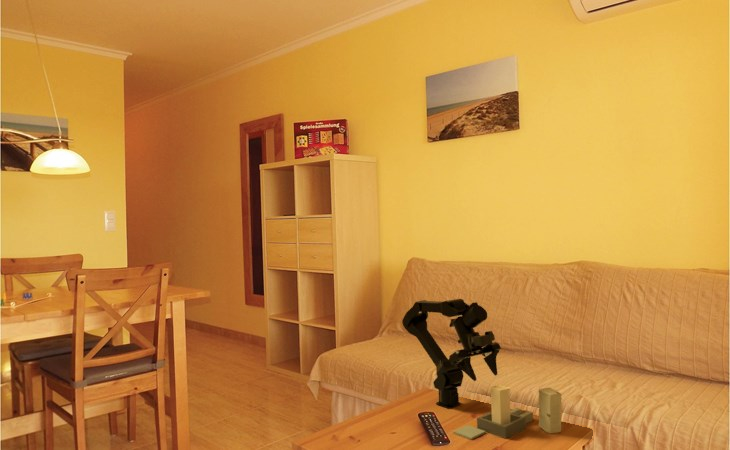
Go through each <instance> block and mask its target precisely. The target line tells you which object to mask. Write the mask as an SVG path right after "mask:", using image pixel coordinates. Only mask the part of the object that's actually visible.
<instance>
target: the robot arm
mask: <svg viewBox="0 0 730 450" xmlns="http://www.w3.org/2000/svg"><path fill="white" fill-rule="evenodd" d="M429 313H436V314H437V313H438V314H441V315H442V316H444V317H447V318H451V319H450V322H449V325H448V326H449V328H452V327H453V328H454V329H455V332H456V334H457V337H458V338H459V339H458V340H457V343H458V344H461V346H462V349H458V350H455V351H454V352H453V353H451V354H450V355H449V356H448V357H449V358H448V357H447V356H446V354H445V353H444V352H443V350H442V349H441V347H440V345H439V344H438V343H437V341H436V340H435V338H434V337H433V336H432V334H431V333H430V331H429V330H428V322H427V320H428V318H429ZM454 317H455V318H454ZM487 318H488V312H487V310H486V309H485V308H484V307H483V306H481V305H479V304H478V302H477V301H476V302H472V303H470V304H469V303H466V302H465V301H464V299H462V298H455V299H449V300H445V301H444V300H443V301H442V300H441V301H440V300H439V301H436V300H426V299H424V300H417V301H415V302H414V303H413V306H412V307H410V309H408V310H407V311H406V312H405V313H404V316H403V318H402V321H401V322H402V326H403V328H404V329H405V330H406V331H407V332H408V333H409V334H410V335H412V336H414V337H416V338H417V340H418V342H419V343H420V345H421V346H422V348H423V349H424V350H425V352H426V353H427V355H428V356H429V358H430V360H431V361H432V363H433V364H434V366H435V367H436V368H435V370H436V371H435V373H436V374H435V375H436V378H435V379H434V381H433V382H432V383H433V386H434V389H436V390H438V401H437V402H435V404H436V405H437V406H440V407H443V408H447V409H452V408H454V407H457V406H459V405H462V402H460V401H459V400H460V398H459V392H458V391H459V390H458V388H459V387H462V385H463V384H462V383H463V381H464V380H463V379H464V374H465V375H467V376H468V377H469V378H470V379H472V380H473V382H476V381H477V377H476V373H475V371H474V369H473V366H472V364H471V359H472V357H476V356H480V355H481V356H482V357H483V360H484V362H485V364H486V365H487V367H488V368H489V369H490V372H491V373H492V375H493V376H495V377H496V376H498V365H497V356H498V354H499V353H500V351H501V350H502V347H501V346H500V343H498V342H497V341H495V339H496V337H495V334H494V332H493V331H492V330H489V331H485V332H484V334H481V335H480V333H479V332H478V331H475V329H474V328H476V327H478V326H480V325H481V324H482V323H483V322H485V321H486V320H487ZM493 341H495V342H493Z"/></svg>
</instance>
